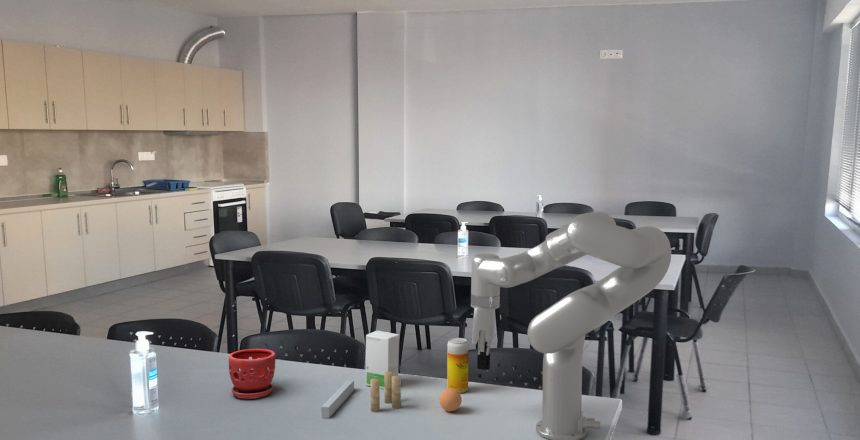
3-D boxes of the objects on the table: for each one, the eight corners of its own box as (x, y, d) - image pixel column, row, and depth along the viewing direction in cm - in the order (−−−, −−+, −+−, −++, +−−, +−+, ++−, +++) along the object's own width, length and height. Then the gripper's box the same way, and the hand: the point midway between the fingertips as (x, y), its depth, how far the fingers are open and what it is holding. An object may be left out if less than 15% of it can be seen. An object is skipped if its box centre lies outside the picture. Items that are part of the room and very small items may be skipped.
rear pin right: (394, 400, 195) (393, 371, 194) (392, 403, 193) (391, 373, 192) (385, 400, 196) (385, 370, 195) (383, 403, 193) (383, 373, 192)
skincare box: (364, 386, 208) (364, 334, 206) (376, 379, 213) (375, 329, 212) (388, 390, 204) (388, 338, 202) (400, 383, 209) (399, 333, 208)
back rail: (354, 390, 204) (354, 380, 204) (328, 418, 183) (328, 407, 182) (347, 389, 204) (347, 379, 204) (321, 417, 183) (321, 406, 183)
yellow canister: (466, 394, 200) (466, 343, 198) (445, 393, 201) (445, 342, 199) (469, 387, 205) (469, 338, 204) (449, 386, 207) (449, 337, 205)
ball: (463, 407, 190) (463, 386, 189) (459, 415, 184) (459, 393, 183) (441, 405, 191) (441, 384, 190) (437, 414, 185) (437, 392, 184)
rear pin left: (380, 409, 189) (380, 378, 188) (378, 412, 186) (378, 381, 186) (372, 408, 189) (371, 378, 188) (369, 411, 187) (369, 381, 186)
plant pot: (277, 398, 197) (276, 357, 196) (229, 403, 194) (228, 361, 192) (274, 384, 210) (273, 345, 209) (229, 388, 206) (228, 349, 205)
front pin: (401, 405, 191) (401, 375, 190) (399, 408, 189) (399, 378, 188) (393, 405, 192) (392, 375, 191) (391, 408, 189) (390, 377, 188)
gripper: (474, 294, 191) (473, 358, 193) (467, 306, 176) (465, 376, 178) (502, 295, 189) (500, 361, 191) (496, 308, 175) (494, 379, 177)
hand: (483, 368), depth 185 cm, fingers closed
